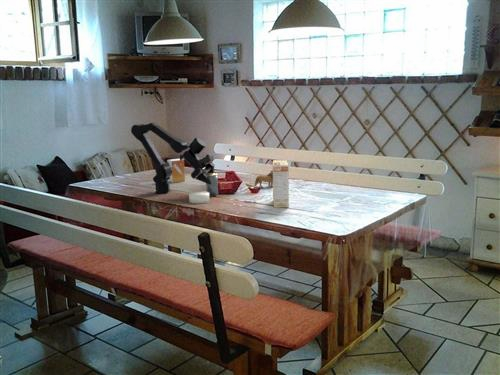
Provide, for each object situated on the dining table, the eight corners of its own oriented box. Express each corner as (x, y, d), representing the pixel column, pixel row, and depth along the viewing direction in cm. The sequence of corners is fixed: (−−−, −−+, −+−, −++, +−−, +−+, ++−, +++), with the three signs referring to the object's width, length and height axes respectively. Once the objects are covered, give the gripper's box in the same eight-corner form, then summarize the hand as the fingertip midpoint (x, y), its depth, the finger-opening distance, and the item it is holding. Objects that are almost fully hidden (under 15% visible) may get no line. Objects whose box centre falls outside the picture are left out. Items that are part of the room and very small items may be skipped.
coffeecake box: (273, 200, 239) (272, 160, 235) (287, 199, 238) (287, 159, 234) (273, 207, 224) (272, 165, 220) (289, 207, 224) (288, 165, 220)
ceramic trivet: (187, 203, 236) (186, 195, 235) (191, 198, 246) (191, 191, 245) (207, 203, 235) (207, 195, 234) (211, 198, 245) (211, 191, 244)
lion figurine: (274, 184, 275) (274, 168, 273) (279, 186, 270) (279, 170, 268) (251, 187, 268) (251, 171, 266) (255, 189, 264) (255, 172, 262)
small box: (172, 183, 286) (171, 160, 283) (168, 181, 291) (166, 159, 288) (185, 181, 290) (184, 159, 288) (180, 179, 295) (179, 158, 293)
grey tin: (205, 196, 250) (204, 175, 248) (207, 193, 256) (206, 172, 254) (217, 196, 249) (216, 175, 247) (219, 193, 255) (218, 172, 253)
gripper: (195, 151, 240) (217, 174, 239) (210, 147, 258) (230, 168, 256) (181, 167, 244) (203, 190, 243) (197, 161, 262) (217, 182, 261)
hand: (214, 182), depth 251 cm, fingers open, 9 cm apart
